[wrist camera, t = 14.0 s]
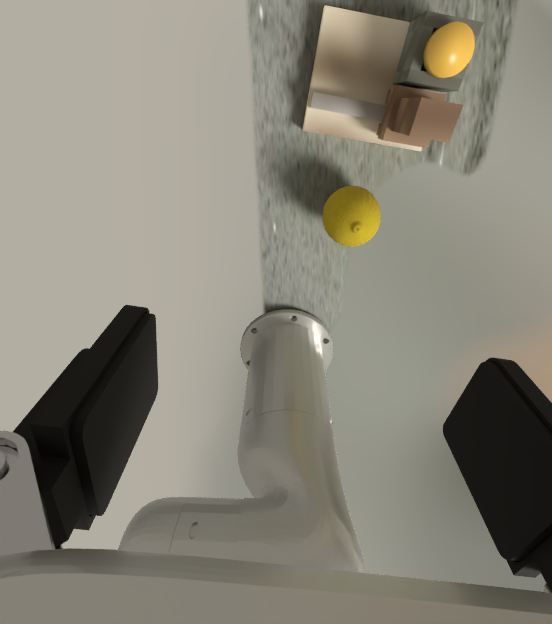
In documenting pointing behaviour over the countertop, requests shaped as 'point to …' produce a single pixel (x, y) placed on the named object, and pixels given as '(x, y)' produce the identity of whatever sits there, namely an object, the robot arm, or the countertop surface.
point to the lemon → (351, 216)
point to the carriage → (417, 117)
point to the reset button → (448, 50)
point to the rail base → (370, 70)
